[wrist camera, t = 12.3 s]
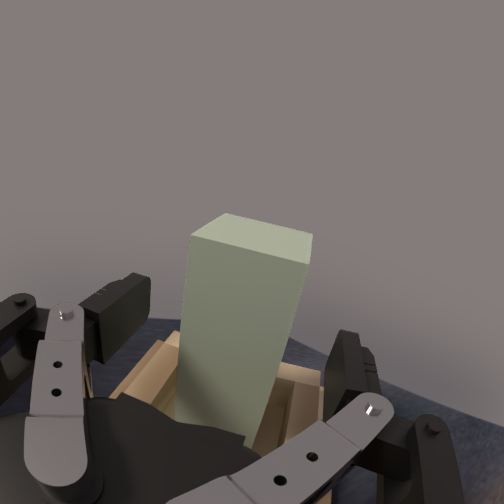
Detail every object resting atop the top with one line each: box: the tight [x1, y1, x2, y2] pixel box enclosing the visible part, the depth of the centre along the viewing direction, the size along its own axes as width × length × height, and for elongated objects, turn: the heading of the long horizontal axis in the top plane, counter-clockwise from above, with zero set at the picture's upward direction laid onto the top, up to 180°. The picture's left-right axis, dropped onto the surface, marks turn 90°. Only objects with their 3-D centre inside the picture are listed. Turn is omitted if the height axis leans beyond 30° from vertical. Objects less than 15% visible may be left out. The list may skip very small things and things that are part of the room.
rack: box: [109, 331, 332, 504], centre depth 16 cm, size 14×12×4 cm
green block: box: [175, 213, 313, 449], centre depth 14 cm, size 4×4×12 cm
